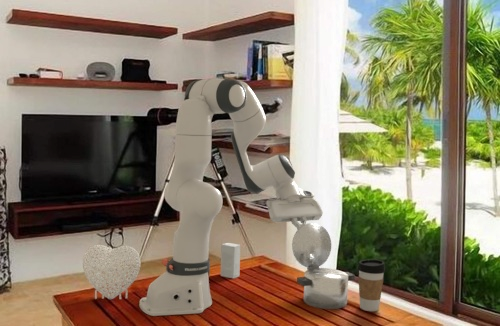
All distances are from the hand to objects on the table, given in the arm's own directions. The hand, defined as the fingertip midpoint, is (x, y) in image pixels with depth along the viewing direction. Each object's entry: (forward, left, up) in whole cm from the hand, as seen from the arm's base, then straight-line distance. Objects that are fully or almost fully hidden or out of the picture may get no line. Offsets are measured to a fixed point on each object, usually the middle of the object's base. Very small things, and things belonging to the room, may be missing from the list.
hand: (302, 229), depth 179 cm
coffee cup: (+10, -26, -21) cm, 35 cm away
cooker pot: (0, -16, -20) cm, 26 cm away
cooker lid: (0, -7, -4) cm, 8 cm away
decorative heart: (-64, +9, -21) cm, 68 cm away
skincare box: (-19, +19, -21) cm, 34 cm away
